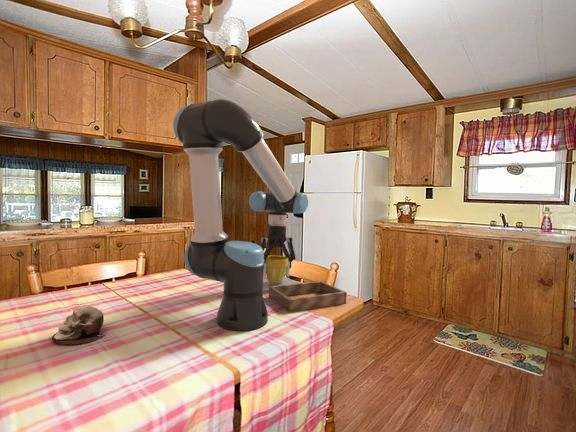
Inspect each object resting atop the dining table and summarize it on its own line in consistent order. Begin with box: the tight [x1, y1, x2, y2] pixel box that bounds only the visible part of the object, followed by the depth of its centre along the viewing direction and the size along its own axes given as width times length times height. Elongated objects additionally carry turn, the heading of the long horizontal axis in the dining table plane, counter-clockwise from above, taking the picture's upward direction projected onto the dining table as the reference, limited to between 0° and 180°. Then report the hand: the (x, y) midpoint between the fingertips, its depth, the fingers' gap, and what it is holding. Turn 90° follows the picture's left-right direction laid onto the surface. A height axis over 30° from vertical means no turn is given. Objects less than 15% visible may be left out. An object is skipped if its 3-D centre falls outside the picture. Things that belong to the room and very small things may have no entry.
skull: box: [51, 304, 107, 346], centre depth 80 cm, size 12×10×10 cm
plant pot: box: [264, 255, 288, 282], centre depth 131 cm, size 10×10×10 cm
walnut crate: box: [268, 280, 348, 313], centre depth 114 cm, size 23×16×4 cm
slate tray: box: [263, 276, 298, 294], centre depth 132 cm, size 18×15×1 cm
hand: (275, 277), depth 131 cm, fingers closed on plant pot, 10 cm apart
